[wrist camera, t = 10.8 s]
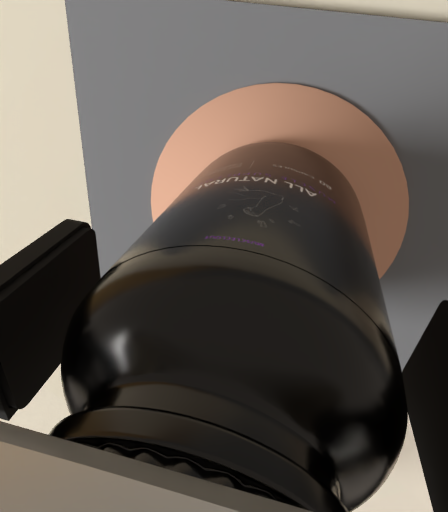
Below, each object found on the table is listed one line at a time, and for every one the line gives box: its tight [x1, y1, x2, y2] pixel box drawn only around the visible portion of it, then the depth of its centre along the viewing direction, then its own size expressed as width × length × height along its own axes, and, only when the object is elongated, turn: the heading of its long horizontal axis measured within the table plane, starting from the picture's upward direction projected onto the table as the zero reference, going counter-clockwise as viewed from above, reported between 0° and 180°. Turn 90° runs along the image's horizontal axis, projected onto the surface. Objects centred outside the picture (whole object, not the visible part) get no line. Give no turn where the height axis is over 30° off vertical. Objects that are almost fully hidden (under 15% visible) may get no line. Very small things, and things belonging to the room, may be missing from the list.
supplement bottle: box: [48, 142, 408, 512], centre depth 9 cm, size 7×7×12 cm
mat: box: [65, 0, 448, 371], centre depth 14 cm, size 16×14×1 cm
